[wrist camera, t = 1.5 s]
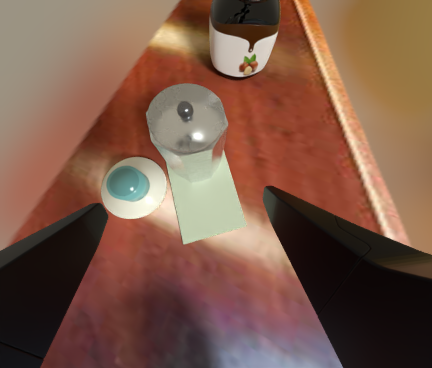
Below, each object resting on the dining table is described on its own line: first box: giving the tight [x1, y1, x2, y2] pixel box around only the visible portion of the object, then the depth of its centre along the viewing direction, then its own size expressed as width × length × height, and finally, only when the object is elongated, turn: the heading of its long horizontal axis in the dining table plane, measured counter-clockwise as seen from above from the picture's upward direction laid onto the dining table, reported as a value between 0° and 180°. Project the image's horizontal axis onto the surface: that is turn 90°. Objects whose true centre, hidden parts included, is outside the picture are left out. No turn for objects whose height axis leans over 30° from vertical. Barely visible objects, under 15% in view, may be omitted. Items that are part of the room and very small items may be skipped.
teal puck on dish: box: [101, 157, 167, 219], centre depth 21 cm, size 9×9×3 cm
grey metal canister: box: [146, 84, 228, 183], centre depth 18 cm, size 7×7×11 cm
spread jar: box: [209, 0, 281, 80], centre depth 23 cm, size 12×11×12 cm
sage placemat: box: [166, 150, 247, 245], centre depth 23 cm, size 15×9×1 cm, turn 15°
